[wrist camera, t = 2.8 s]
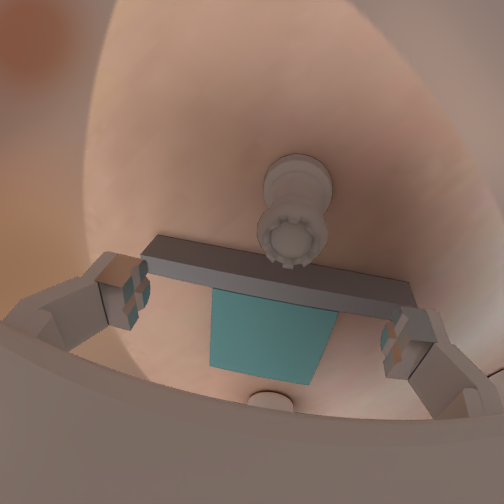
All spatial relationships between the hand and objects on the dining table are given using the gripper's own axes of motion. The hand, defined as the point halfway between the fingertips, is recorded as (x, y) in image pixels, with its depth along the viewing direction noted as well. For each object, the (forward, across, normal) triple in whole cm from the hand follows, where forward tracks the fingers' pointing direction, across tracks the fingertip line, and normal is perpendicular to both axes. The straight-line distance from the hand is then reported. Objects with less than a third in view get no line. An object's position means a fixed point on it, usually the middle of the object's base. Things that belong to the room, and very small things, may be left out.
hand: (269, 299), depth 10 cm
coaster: (+12, +1, -14) cm, 19 cm away
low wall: (+12, +1, -7) cm, 14 cm away
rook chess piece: (+12, +1, 0) cm, 12 cm away
